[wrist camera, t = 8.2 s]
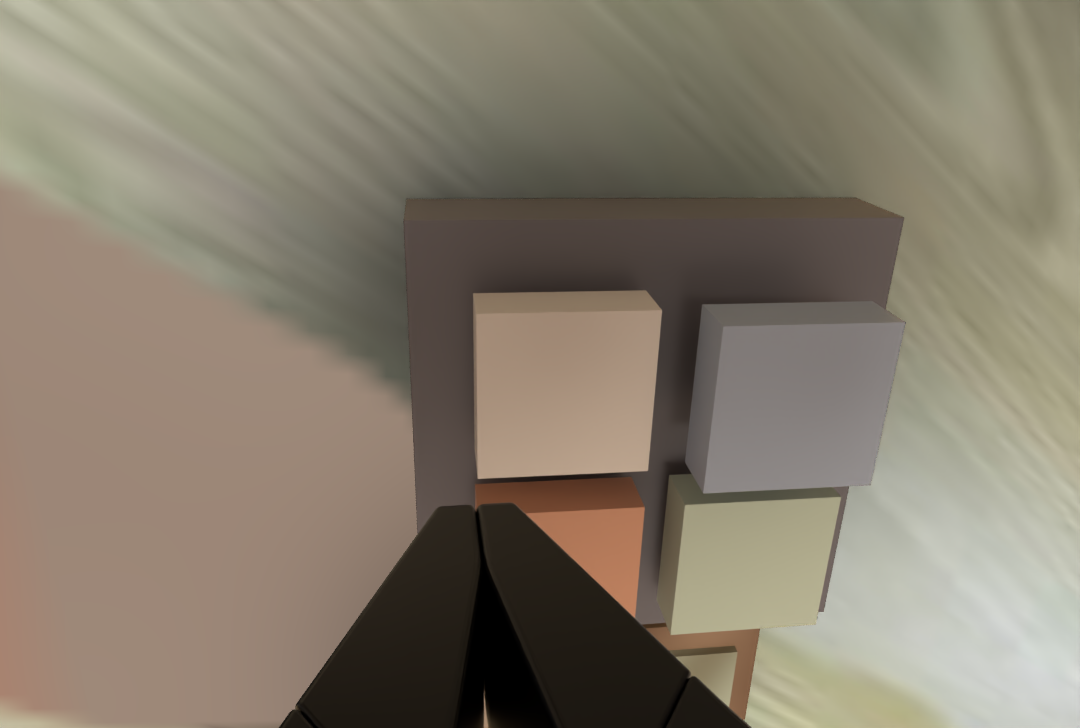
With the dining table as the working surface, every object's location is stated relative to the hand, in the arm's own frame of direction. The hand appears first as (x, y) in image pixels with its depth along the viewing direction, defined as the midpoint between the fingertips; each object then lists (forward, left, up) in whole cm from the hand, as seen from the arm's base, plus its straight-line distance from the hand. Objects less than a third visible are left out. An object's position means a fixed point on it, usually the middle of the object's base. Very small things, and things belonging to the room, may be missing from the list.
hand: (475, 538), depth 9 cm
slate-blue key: (-7, +2, -12) cm, 14 cm away
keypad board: (-5, +5, -13) cm, 15 cm away
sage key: (-7, +7, -13) cm, 17 cm away
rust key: (-2, +7, -13) cm, 15 cm away
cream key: (-2, +2, -13) cm, 13 cm away
